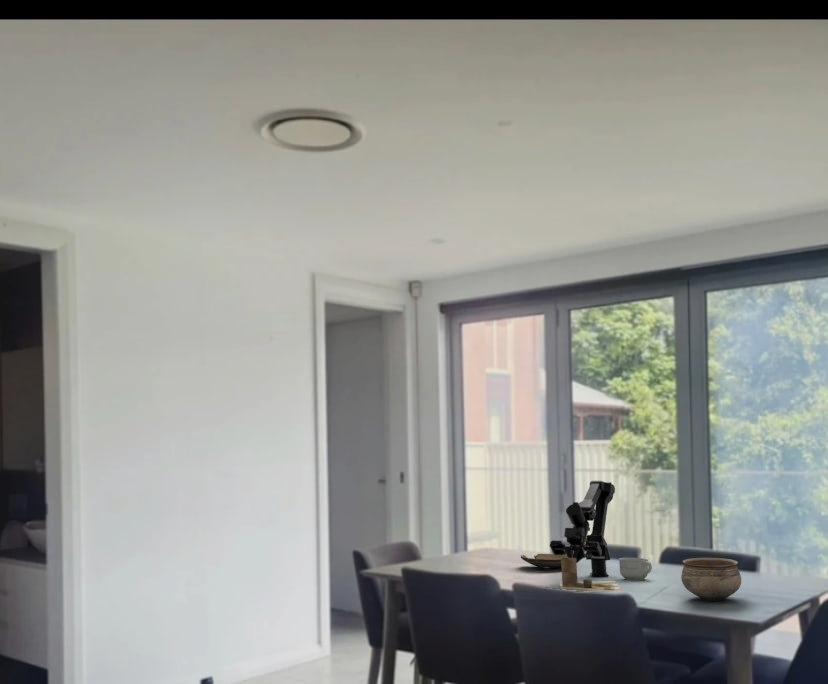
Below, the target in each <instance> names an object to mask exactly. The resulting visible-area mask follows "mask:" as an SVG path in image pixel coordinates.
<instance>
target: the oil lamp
mask: <svg viewBox="0 0 828 684" xmlns="http://www.w3.org/2000/svg"><path fill="white" fill-rule="evenodd" d="M562 557H565V558H568V556H567V555H566V553H565V552H564V554H563V555H555V554H553V553H537V555H533V558H530V557H527V556H526V555H524V554H522V555H520V558H521V559H522V560H523V561H524V562H526V563H527V564H530V565H532V566H534V567H538V568H547V569H556V568H558V569H559V568H562V567H561V558H562Z"/></svg>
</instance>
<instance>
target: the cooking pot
mask: <svg viewBox="0 0 828 684" xmlns="http://www.w3.org/2000/svg"><path fill="white" fill-rule="evenodd" d="M682 563H683V564H684V565H683V567H682V570H681V574H680V575H681V577H680V579H681V582H682V585H683V586H684V588H685V589H686V590H687V591H688V592H689V593H692V594H693V595H695V596H697V597H698V598H699V599H701V600H703V601H706V602H720V601H721V602H722V601H724V600H726V599H727V598H728V597H730V596H732V595H734V594H735V593H736V592H737V591H738V590H739V589H740V587H741V585H742V575H741V573H740V570H739V568H738V566H737V564H738V563H739V562H738V561H737V560H734V559H728V558H721V557H719V558H718V557H695V558H694V557H693V558H687V559H683V560H682Z"/></svg>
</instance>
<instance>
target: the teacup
mask: <svg viewBox="0 0 828 684" xmlns="http://www.w3.org/2000/svg"><path fill="white" fill-rule="evenodd" d="M618 561H619V563H618V564H619V573H620V575H621V576H622V577H623V578H624V580H626V581H643V580H645V579H646V578H647V577H648V575H649V573H651V572H652V569H653V566H652V563H651V562H650V561H649V559H648V558H644V557H643V558H641V557H620V558H618Z"/></svg>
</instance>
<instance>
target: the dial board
mask: <svg viewBox="0 0 828 684" xmlns="http://www.w3.org/2000/svg"><path fill="white" fill-rule="evenodd" d="M580 582H581V583H583V581H580ZM592 584H608V585H611V588H604V587H591V588H584V587H575V586H563V584H562V581H558V585H559V587H560V588H559V589H560V590H561V589H566V590H576V591H589V592H588V593H618V592H619V593H623V592H624V591H623V590H622V588H621V587H620V586H619V584H618V583H617V581H616V580H610V581H608V580H607V581H606V580H604V581H592Z"/></svg>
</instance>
